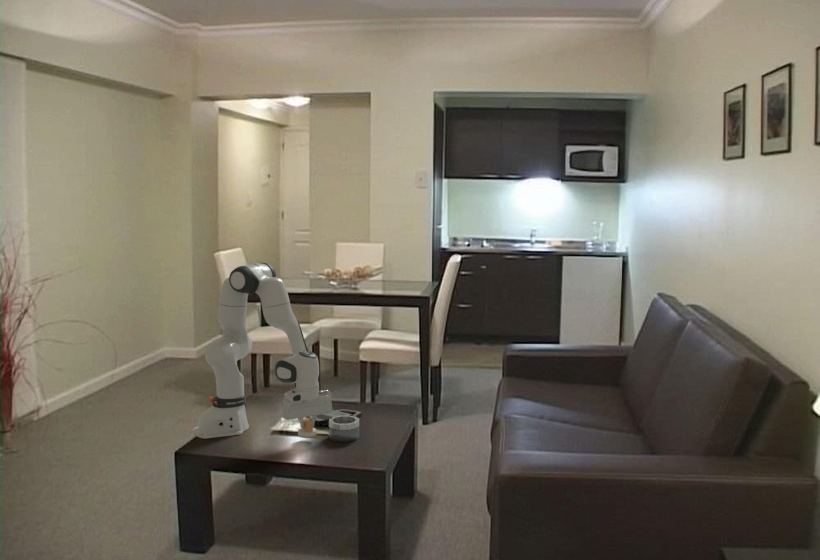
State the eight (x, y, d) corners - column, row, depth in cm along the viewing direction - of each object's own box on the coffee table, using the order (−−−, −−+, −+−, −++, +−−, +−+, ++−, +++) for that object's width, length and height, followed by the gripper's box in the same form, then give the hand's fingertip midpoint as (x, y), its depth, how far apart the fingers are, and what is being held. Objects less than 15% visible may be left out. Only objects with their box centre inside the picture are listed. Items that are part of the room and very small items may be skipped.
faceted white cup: (337, 444, 294) (337, 426, 293) (324, 435, 304) (324, 418, 303) (364, 438, 300) (364, 421, 299) (350, 430, 310) (350, 413, 309)
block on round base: (302, 438, 292) (302, 424, 291) (295, 433, 298) (295, 419, 297) (319, 435, 296) (319, 421, 295) (311, 430, 302) (312, 416, 301)
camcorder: (350, 431, 309) (350, 419, 309) (304, 426, 315) (304, 414, 314) (363, 419, 325) (363, 408, 324) (318, 415, 330) (318, 404, 330)
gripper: (328, 387, 303) (327, 420, 305) (280, 394, 292) (280, 428, 294) (335, 391, 298) (334, 425, 299) (286, 398, 287) (286, 433, 289)
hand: (307, 426), depth 297 cm, fingers closed on block on round base, 2 cm apart
